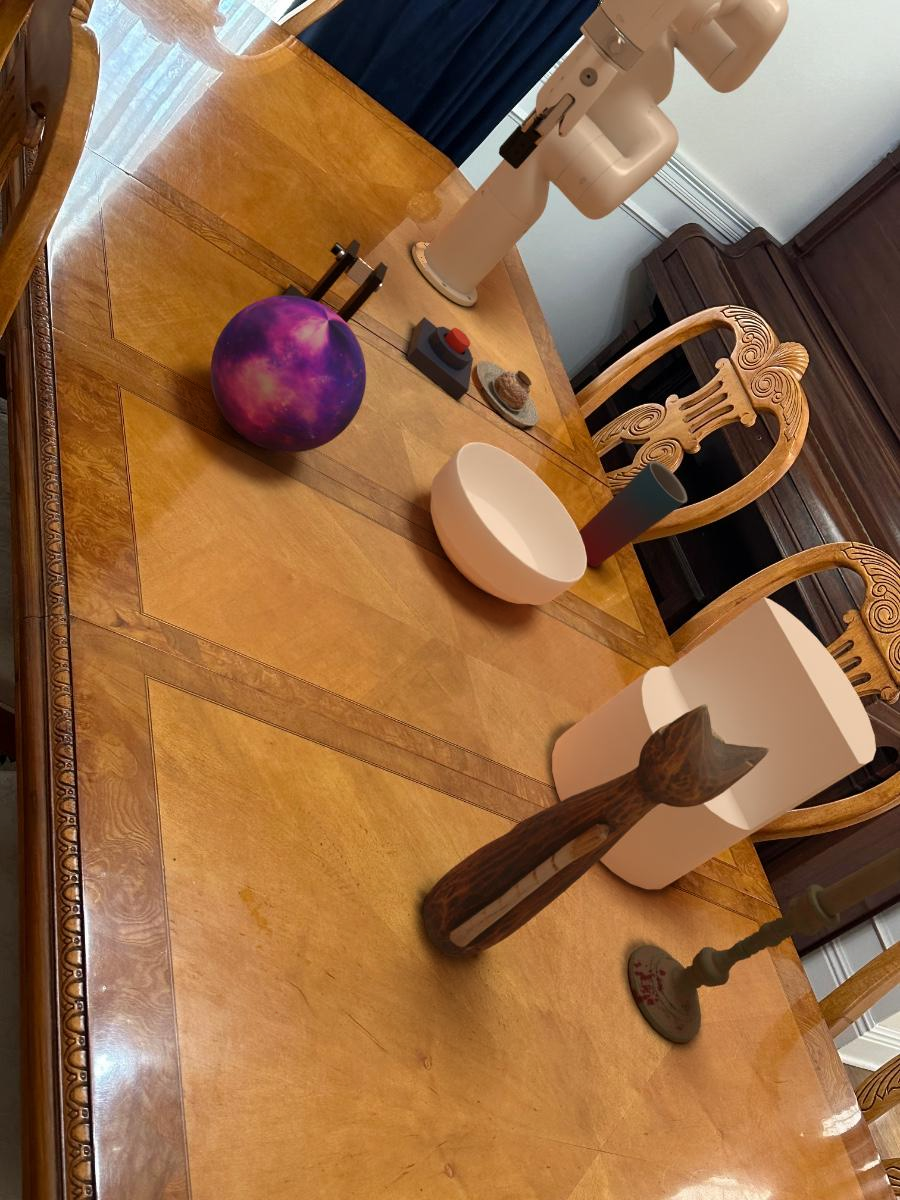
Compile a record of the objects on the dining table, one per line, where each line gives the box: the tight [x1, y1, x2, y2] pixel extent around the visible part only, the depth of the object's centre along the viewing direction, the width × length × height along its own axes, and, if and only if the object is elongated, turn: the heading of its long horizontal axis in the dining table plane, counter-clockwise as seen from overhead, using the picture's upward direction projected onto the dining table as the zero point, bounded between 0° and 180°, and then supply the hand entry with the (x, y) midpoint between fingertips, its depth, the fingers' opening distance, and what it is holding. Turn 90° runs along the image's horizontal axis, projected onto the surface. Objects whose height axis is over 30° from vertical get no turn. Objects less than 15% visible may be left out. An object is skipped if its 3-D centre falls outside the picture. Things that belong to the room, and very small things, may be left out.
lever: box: [329, 241, 374, 287], centre depth 138 cm, size 12×6×2 cm, turn 174°
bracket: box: [282, 238, 389, 324], centre depth 136 cm, size 10×9×12 cm
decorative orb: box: [210, 295, 367, 454], centre depth 114 cm, size 15×15×15 cm
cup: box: [578, 460, 688, 568], centre depth 151 cm, size 7×7×15 cm
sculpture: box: [423, 704, 769, 958], centre depth 86 cm, size 7×9×30 cm
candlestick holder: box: [628, 846, 900, 1044], centre depth 100 cm, size 9×9×30 cm
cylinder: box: [551, 596, 877, 890], centre depth 115 cm, size 19×19×25 cm
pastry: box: [476, 360, 540, 429], centre depth 166 cm, size 12×12×5 cm
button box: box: [406, 316, 474, 401], centre depth 158 cm, size 10×9×4 cm
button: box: [444, 327, 471, 354], centre depth 156 cm, size 3×3×2 cm
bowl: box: [430, 441, 588, 606], centre depth 131 cm, size 20×20×8 cm
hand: (507, 159), depth 147 cm, fingers closed
